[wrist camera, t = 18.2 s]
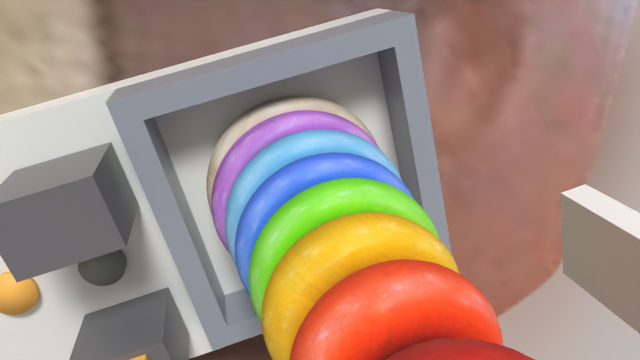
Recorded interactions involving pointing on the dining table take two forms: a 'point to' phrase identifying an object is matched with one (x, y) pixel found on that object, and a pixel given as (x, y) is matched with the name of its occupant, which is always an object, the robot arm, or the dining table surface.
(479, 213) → the dining table surface
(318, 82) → the panel
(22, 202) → the toggle
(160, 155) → the frame
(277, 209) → the stacking toy
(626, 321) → the robot arm
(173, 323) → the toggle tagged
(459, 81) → the dining table surface
